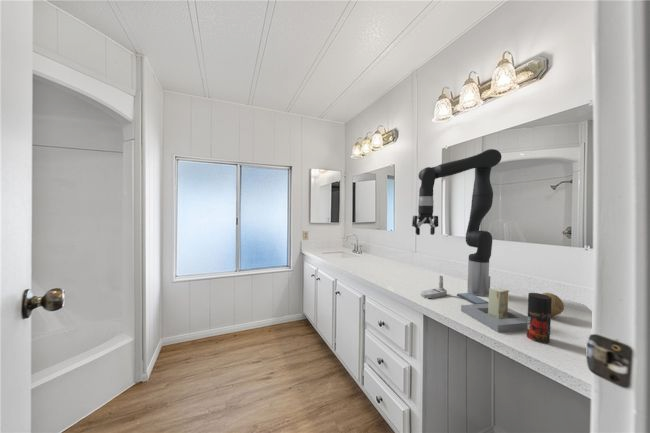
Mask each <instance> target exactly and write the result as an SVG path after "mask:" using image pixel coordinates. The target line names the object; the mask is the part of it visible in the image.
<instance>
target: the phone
mask: <svg viewBox="0 0 650 433" xmlns="http://www.w3.org/2000/svg"><path fill="white" fill-rule="evenodd" d="M456 296H457V297H459V298H461V299H462V300H465V301H467V302H468V303H470V304H486V303H489V300H488V301H487V300H485V299H483V298H481V297H478V295H473V294H470V293H469V292H464V293H463V292H462V293H457V294H456Z"/></svg>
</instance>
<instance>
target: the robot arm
mask: <svg viewBox="0 0 650 433" xmlns="http://www.w3.org/2000/svg"><path fill="white" fill-rule="evenodd" d="M501 153H502V152H500V151H499V150H497V149H494V148H491V149H486V150H484V151H483V152H480V153H477V154H475V155H472V156H469V157H465V158H462V159H457V160H453V161H449V162H446V163H442V164H441V163H440V164H438V165H436V166H431V167H429V166H427V167H424V168H423V169H421V170H420V171H419V173H418V179H419V180H420V181H421V182H420V187H419V191H418V192H419V194H418V208H417V210H418V211H417V212H418V215H412V222H411V226H412V227H413V228H415V234H416V236H420V235H421V234H420V233H421V226H422V225H425V224H426V225H427V224H428V225H429V227H430V228H429V230H430V233H429V234H430V235H433V236H434V235H435V233H436V228H438V227H439V215H434V187H435V182H436V180H437V179H439V178H445V177H449V176H453V175H456V174H457V175H458V174H461V173H463V172H466V171H470V170H473V169H474V181H473V189H472V195H471V196H472V197H471V207H470V212H469V220H468V225H467V230H466V233H465V243H466V244H467V246H468V247H471V248H476V252H474V253H470V254H469V255H468V259H467V260H468V263H467V293H470V294H472V295H474V296H477V297H478V296H480V297H487V296H489V289H490V288H491V276H490V274H489V273H490V259H491V256H492V251H493V250H492V248H493V236H492V233H491V232H489V231H488V230H487V231H486V230H481V229H480V228H481V224H482V221H483V219H484V218H485V217H486V215H487V214H488V213H489V211H490V210H491V209H492V206H493V200H494V190H493V187H492V183H491V172H492V168H493V167H495V166H497V165H499V164H500V162H501V161H502V154H501Z"/></svg>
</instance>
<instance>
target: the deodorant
mask: <svg viewBox="0 0 650 433" xmlns="http://www.w3.org/2000/svg"><path fill="white" fill-rule="evenodd" d="M527 298H528V299H527V315H526V316H527V329H526V337H527V338H528V339H529V340H531V341H532V342H536V343H538V344H539V343H540V344H546V345H547V344H549V343H550V338H551V320H552V317H551V303H552V298H551V297H550V296H547V295H544V294H543V293H539V292H529V293H528V297H527Z"/></svg>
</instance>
